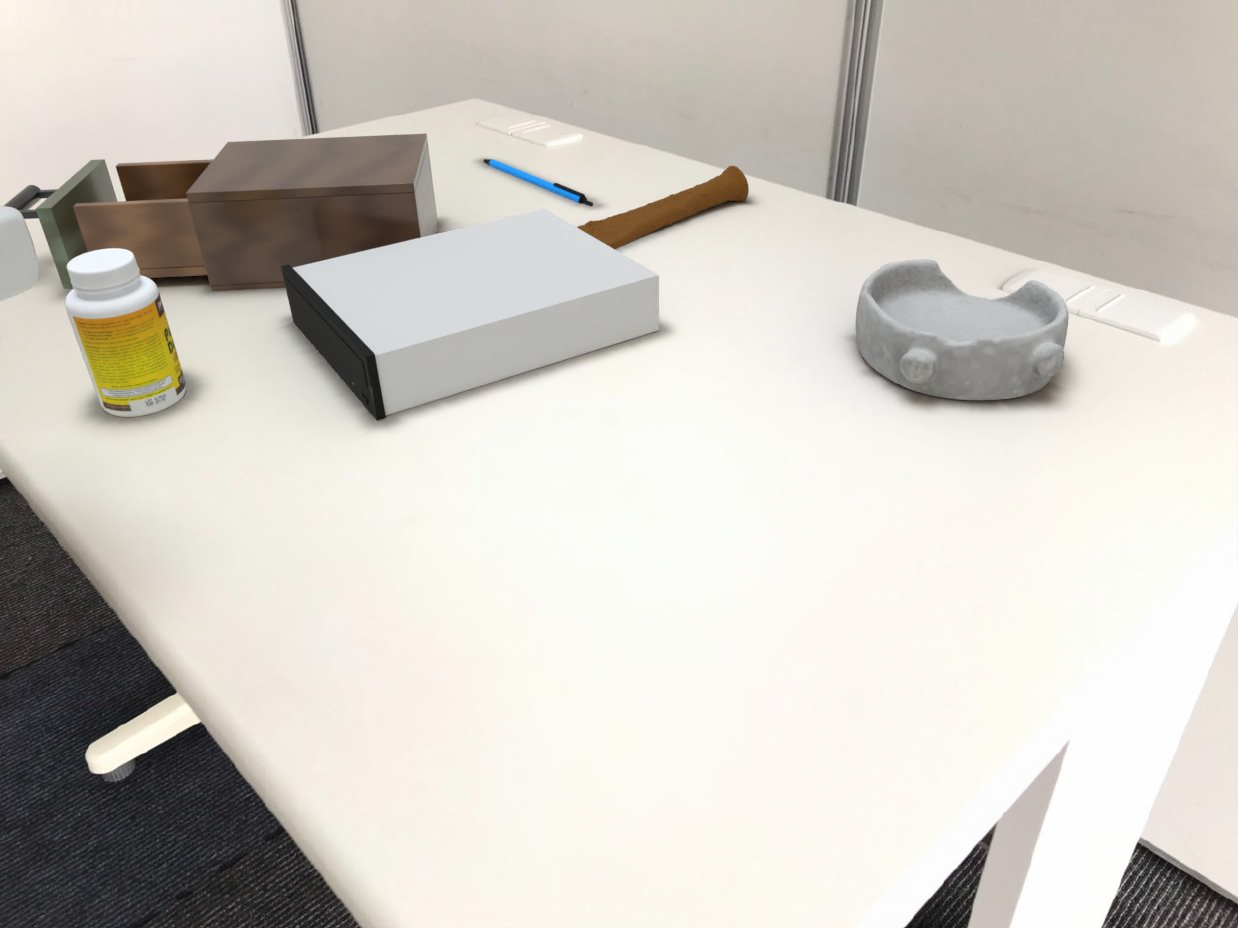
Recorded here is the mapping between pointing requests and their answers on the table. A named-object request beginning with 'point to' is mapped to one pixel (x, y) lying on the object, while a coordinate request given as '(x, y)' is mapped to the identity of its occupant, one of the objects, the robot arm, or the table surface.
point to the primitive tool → (669, 209)
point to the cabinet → (308, 203)
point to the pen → (540, 182)
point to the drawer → (122, 216)
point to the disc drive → (468, 307)
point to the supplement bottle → (123, 334)
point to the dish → (959, 334)
